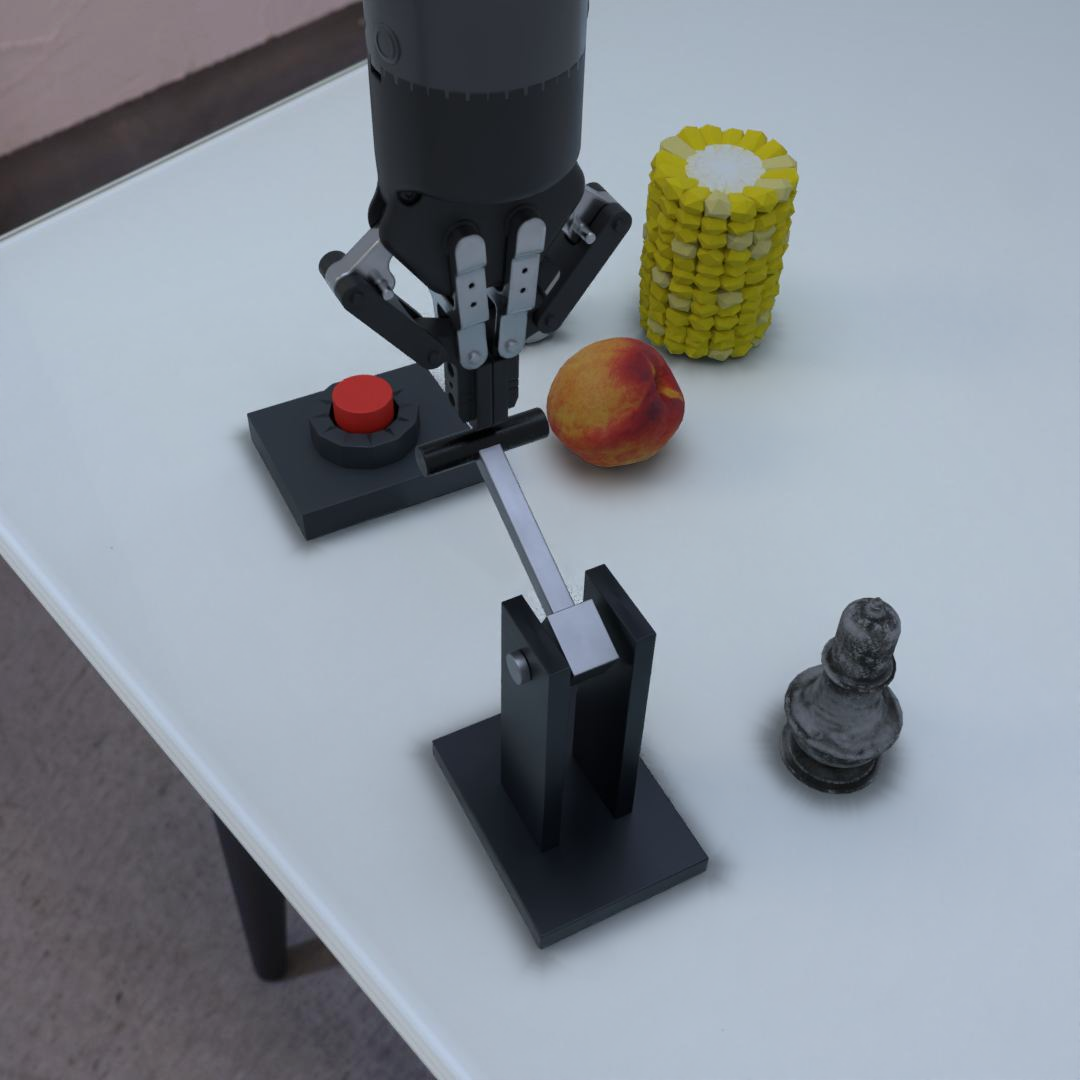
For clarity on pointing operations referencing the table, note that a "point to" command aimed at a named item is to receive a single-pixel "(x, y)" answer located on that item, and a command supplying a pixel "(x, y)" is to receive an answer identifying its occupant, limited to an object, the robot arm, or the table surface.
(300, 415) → the control block
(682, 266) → the food
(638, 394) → the fruit
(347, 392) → the button
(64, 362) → the table surface
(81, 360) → the table surface
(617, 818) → the bracket
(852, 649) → the black chess piece
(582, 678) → the lever
